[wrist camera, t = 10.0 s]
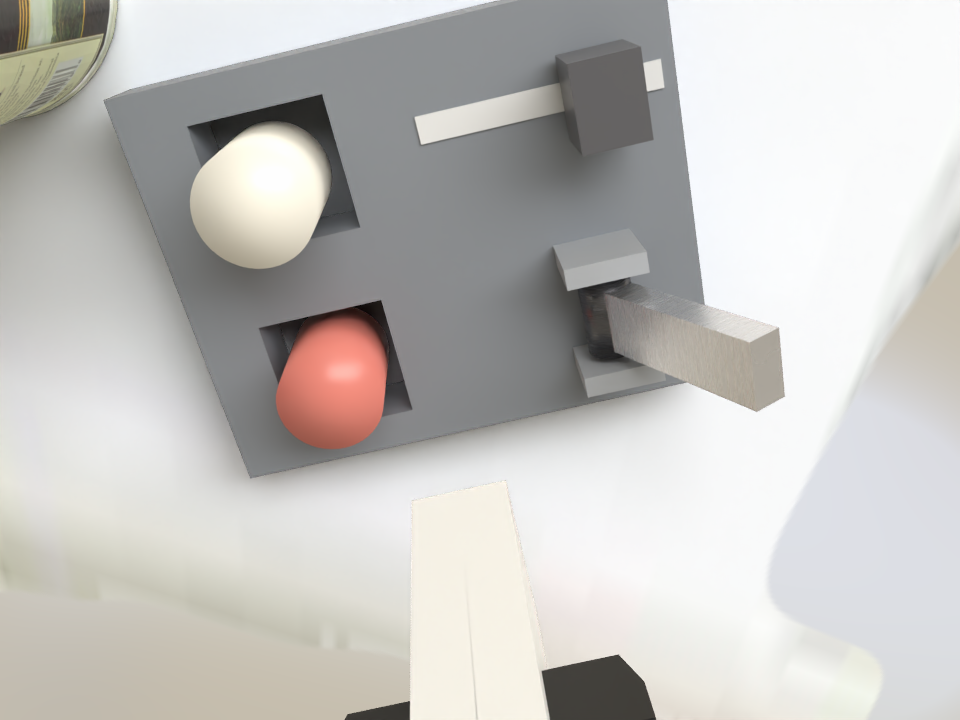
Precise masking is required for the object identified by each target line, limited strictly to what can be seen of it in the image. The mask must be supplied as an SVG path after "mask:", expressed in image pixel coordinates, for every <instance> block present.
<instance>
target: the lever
mask: <svg viewBox="0 0 960 720" xmlns="http://www.w3.org/2000/svg"><path fill="white" fill-rule="evenodd" d="M578 294H579V299H580V305H581V310H582V315H583V321H584V326H585V331H586V337H587V342H588V348H589V353H590V354H591V355H592V356H593V357H595V358H598V359H617V358H622V357H628V358H630V359H633V360H635V361H637V362H640V363H642V364H645V365H647V366H649V367H652V368H654V369H656V370H659V371H661V372H664V373H666V374H668V375H671V376H673V377H675V378H678V379H680V380H683V381H685V382H687V383H690V384H692V385H694V386H697V387H699V388H702V389H704V390H706V391H709V392H711V393H713V394H716V395H718V396H721V397H723V398H725V399H728V400H730V401H732V402H735V403H737V404H740V405H742V406H744V407H747V408H749V409H752V410H754V411H756V412H757V411H759V410H761V409H763V408H765V407H766V406H768V405H770V404H772V403H774V402H776V401H777V400H779V399H781V398H783V397H785V394H784V382H783V371H782V359H781V348H780V336H779V328H778V327H775V326H772V325H768V324H765V323H762V322H759V321H755V320H752V319H749V318H746V317H742V316H739V315H736V314H733V313H729V312H726V311H723V310H719V309H716V308H713V307H710V306H706V305H703V304H700V303H697V302H693V301H690V300H687V299H683V298H680V297H677V296H674V295H670V294H667V293H664V292H661V291H657V290H654V289H651V288H648V287H644V286H641V285H638V284H634V283H631V279H630V277H628V278H623V279H619V280H615V281H610V282H606V283H601V284H597V285H592V286H588V287H584V288H579V289H578Z"/></svg>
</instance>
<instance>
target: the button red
mask: <svg viewBox="0 0 960 720" xmlns="http://www.w3.org/2000/svg"><path fill="white" fill-rule="evenodd" d="M388 360H389V343H388V339H387V336H386V333H385V332H384V330H383V328H382V327H381V325H380V324H379V323H378V322H377V321H376V320H375V319H374V318H373V317H372V316H371V315H369V314H367V313H366V312H364V311H362V310H360V309H357V308H354V307H349V308H344V309H340V310H335V311H331V312H327V313H322V314H318V315H313V316H309V317H308V318H307V319H306V320H305V321H304V322H303V324H302V325H301V327H300V329H299V331H298V333H297V336H296V338H295V341H294V344H293V347H292V349H291V352H290V355H289V358H288V360H287V363H286V366H285V369H284V371H283V374H282V377H281V380H280V382H279V385H278V388H277V393H276V406H277V411H278V414H279V416H280V419H281V421H282V422H283V424H284V426H285V427H286V428H287V429H288V431H289V432H290V433H292V434H293V435H294V436H295V437H296V438H298V439H299V440H301V441H303V442H304V443H306V444H309V445H311V446H314V447H318V448H323V449H341V448H346V447H349V446H352V445H355V444H357V443H359V442H361V441H363V440H364V439H365V438H367V437H368V436H369V435H370V434H371V433H372V432H373V431H374V429H375V428H376V427H377V425H378V423H379V422H380V419H381V416H382V412H383V406H384V397H385V388H386V378H387V369H388Z"/></svg>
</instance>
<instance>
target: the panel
mask: <svg viewBox="0 0 960 720" xmlns="http://www.w3.org/2000/svg"><path fill="white" fill-rule="evenodd" d="M621 39H623V40H626V41H628V42H631V43H633V44H636V45H638V46H641V51H642V58H643V65H644V72H645V80H646V87H647V94H648V102H649V109H650V116H651V123H652V131H653V138H654V140H652V141H648V142H643V143H639V144H635V145H630V146H626V147H622V148H617V149H613V150H609V151H605V152H600V153H596V154H592V155H587V156H582V155H581V154H580V153H579V151H578V150H577V149H576V147H575V146H574V145H573V144H572V142H571V141H570V139H569V133H568V127H567V122H566V116H565V110H564V105H563V99H562V93H561V88H560V82H559V76H558V71H557V65H556V59H555V55H558V54H562V53H566V52H570V51H575V50H579V49H583V48H587V47H591V46H596V45H600V44H604V43H608V42H612V41H617V40H621ZM321 94H322V96H323V99H324V103H325V106H326V110H327V113H328V117H329V120H330V124H331V127H332V131H333V134H334V138H335V141H336V145H337V148H338V152H339V155H340V159H341V162H342V166H343V169H344V172H345V176H346V179H347V183H348V186H349V190H350V193H351V197H352V200H353V204H354V207H355V210H353V211H349V212H345V213H341V214H336V215H332V216H328V217H323V218H319V220H318V223H317V225H316V227H315V229H314V232H313V234H312V236H311V238H310V240H309V242H308V243H307V245H306V246H305V248H304V249H303V250H302V251H301V252H300V253H299V254H298V255H297V256H296V257H294V258H293V259H291V260H290V261H288V262H286V263H284V264H282V265H279V266H276V267H272V268H266V269H253V268H246V267H241V266H238V265H235V264H233V263H230V262H228V261H226V260H225V259H223V258H221V257H220V256H218V255H217V254H216V253H215V252H213V251H212V250H211V249H210V248H209V247H208V246H207V245H206V244H205V242H204V241H203V240H202V238H201V237H200V235H199V233H198V232H197V230H196V227H195V225H194V223H193V219H192V216H191V210H190V195H191V189H192V185H193V182H194V180H195V178H196V176H197V174H198V172H199V171H200V169H201V168H202V167H203V166H204V165H205V164H206V163H207V162H208V161H209V160H210V159H211V158H212V157H213V156H215V155H216V154H217V153H218V152H219V149H218V146H217V143H216V140H215V137H214V134H213V131H212V129H211V126H210V123H209V121H212V120H216V119H220V118H225V117H229V116H233V115H237V114H241V113H245V112H250V111H254V110H258V109H262V108H266V107H271V106H275V105H279V104H283V103H287V102H291V101H296V100H300V99H304V98H308V97H312V96H317V95H321ZM104 103H105V105H106V108H107V111H108V113H109V116H110V118H111V121H112V123H113V126H114V129H115V131H116V134H117V136H118V139H119V141H120V144H121V147H122V149H123V152H124V154H125V157H126V159H127V162H128V165H129V167H130V170H131V172H132V175H133V177H134V180H135V183H136V185H137V188H138V190H139V193H140V195H141V198H142V201H143V203H144V206H145V208H146V211H147V213H148V216H149V219H150V221H151V224H152V226H153V229H154V231H155V234H156V237H157V239H158V242H159V244H160V247H161V249H162V252H163V255H164V257H165V260H166V262H167V265H168V267H169V270H170V273H171V275H172V278H173V280H174V283H175V285H176V288H177V291H178V293H179V296H180V298H181V301H182V303H183V306H184V308H185V311H186V314H187V316H188V319H189V321H190V324H191V326H192V329H193V332H194V334H195V337H196V339H197V342H198V344H199V347H200V350H201V352H202V355H203V357H204V360H205V362H206V365H207V368H208V370H209V373H210V375H211V378H212V380H213V383H214V386H215V388H216V391H217V393H218V396H219V398H220V401H221V404H222V406H223V409H224V411H225V414H226V416H227V419H228V422H229V424H230V427H231V429H232V432H233V434H234V437H235V440H236V442H237V445H238V447H239V450H240V452H241V455H242V458H243V460H244V463H245V465H246V468H247V470H248V473H249V476H250V478H254V477H259V476H263V475H268V474H272V473H277V472H281V471H286V470H290V469H295V468H299V467H304V466H309V465H313V464H318V463H322V462H327V461H331V460H336V459H340V458H345V457H349V456H354V455H359V454H363V453H368V452H372V451H377V450H381V449H386V448H390V447H395V446H399V445H404V444H409V443H413V442H418V441H422V440H427V439H431V438H436V437H440V436H445V435H450V434H454V433H459V432H463V431H468V430H472V429H477V428H481V427H486V426H490V425H495V424H500V423H504V422H509V421H513V420H518V419H522V418H527V417H531V416H536V415H540V414H545V413H550V412H554V411H559V410H563V409H568V408H572V407H577V406H581V405H586V404H590V403H595V402H600V401H604V400H609V399H613V398H618V397H622V396H627V395H631V394H636V393H640V392H645V391H650V390H654V389H659V388H663V387H668V386H672V385H677V384H681V383H686V382H685V381H683V380H680V379H678V378H675V377H673V376H671V375H668V374H666V373H664V372H661V371H659V370H656V369H654V368H652V367H649V366H647V365H645V364H642V363H640V362H637V361H635V360H633V359H630V358H628V357H622V358H617V359H598V358H595V357H593V356H592V355H591V354H590V353H589V348H588V342H587V337H586V331H585V326H584V321H583V315H582V310H581V305H580V299H579V294H578V289H579V288H584V287H588V286H592V285H597V284H601V283H606V282H610V281H615V280H619V279H623V278H628V277H630V279H631V283H634V284H638V285H641V286H644V287H648V288H651V289H654V290H657V291H661V292H664V293H667V294H670V295H674V296H677V297H680V298H683V299H687V300H690V301H693V302H697V303H700V304H703V305H705V304H704V296H703V288H702V279H701V271H700V263H699V255H698V247H697V239H696V231H695V223H694V214H693V206H692V198H691V190H690V182H689V174H688V166H687V157H686V149H685V141H684V133H683V125H682V117H681V109H680V101H679V92H678V84H677V76H676V68H675V60H674V52H673V44H672V35H671V27H670V19H669V11H668V3H667V0H498V1H494V2H490V3H485V4H481V5H477V6H473V7H469V8H465V9H461V10H456V11H452V12H448V13H444V14H440V15H436V16H432V17H427V18H423V19H419V20H415V21H411V22H407V23H403V24H399V25H394V26H390V27H386V28H382V29H378V30H374V31H370V32H365V33H361V34H357V35H353V36H349V37H345V38H341V39H336V40H332V41H328V42H324V43H320V44H316V45H312V46H308V47H303V48H299V49H295V50H291V51H287V52H283V53H279V54H274V55H270V56H266V57H262V58H258V59H254V60H250V61H245V62H241V63H237V64H233V65H229V66H225V67H221V68H217V69H212V70H208V71H204V72H200V73H196V74H192V75H188V76H183V77H179V78H175V79H171V80H167V81H163V82H159V83H154V84H150V85H146V86H142V87H138V88H134V89H130V90H127V91H125V92H123V93H120V94H118V95H115V96H113V97H111V98H108V99H106V100H104ZM379 300H381V301H382V305H383V308H384V312H385V315H386V319H387V322H388V326H389V329H390V333H391V336H392V340H393V343H394V347H395V350H396V353H397V357H398V360H399V364H400V367H401V371H402V374H403V378H404V381H403V382H399V383H394V384H390V385H386V388H385V397H384V406H383V412H382V416H381V419H380V422H379V423H378V425H377V427H376V428H375V429H374V431H373V432H372V433H371V434H370V435H369V436H368V437H367V438H365V439H364V440H363V441H361V442H359V443H357V444H355V445H352V446H349V447H346V448H341V449H323V448H318V447H314V446H311V445H309V444H306V443H304V442H303V441H301V440H299V439H298V438H296V437H295V436H294V435H293V434H292V433H290V432H289V431H288V429H287V428H286V427H285V426H284V424H283V422H282V421H281V419H280V416H279V414H278V411H277V406H276V393H277V388H278V385H279V382H280V380H281V377H282V374H283V371H284V369H285V366H286V363H287V360H288V358H289V353H288V350H287V347H286V344H285V341H284V338H283V335H282V332H281V329H280V326H279V324H278V323H283V322H287V321H291V320H296V319H300V318H305V317H309V316H313V315H318V314H322V313H327V312H331V311H335V310H340V309H344V308H349V307H353V306H357V305H362V304H366V303H371V302H375V301H379Z"/></svg>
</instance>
